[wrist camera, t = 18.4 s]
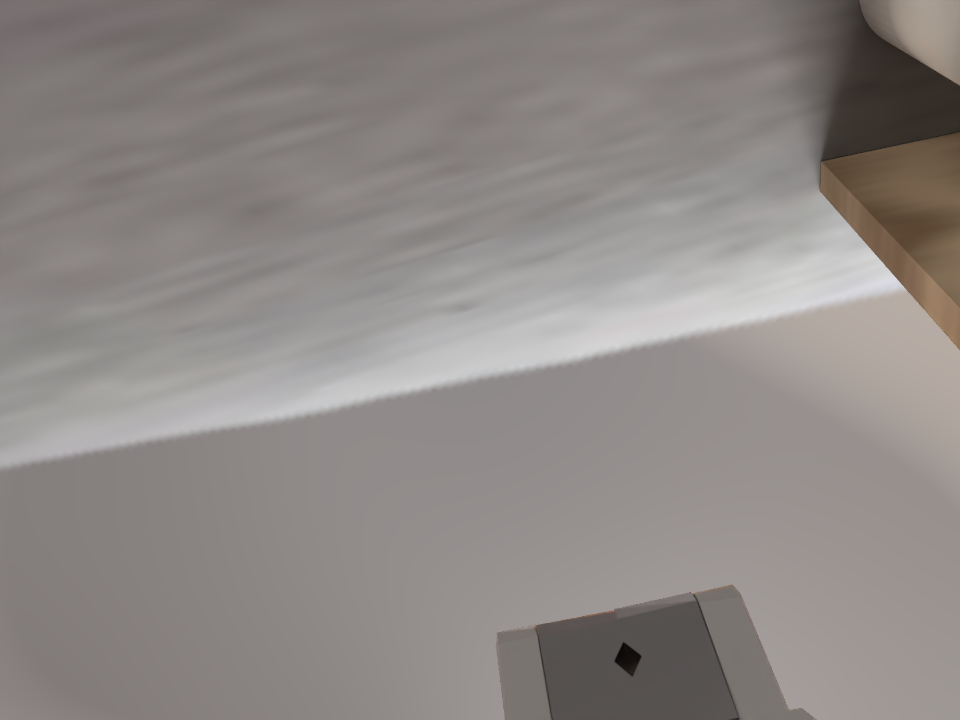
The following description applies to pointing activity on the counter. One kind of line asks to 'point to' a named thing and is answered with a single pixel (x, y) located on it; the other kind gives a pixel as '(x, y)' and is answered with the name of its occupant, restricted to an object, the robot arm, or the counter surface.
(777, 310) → the counter surface
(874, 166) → the oak counter shelf
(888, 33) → the cream rounded cylinder
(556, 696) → the robot arm
